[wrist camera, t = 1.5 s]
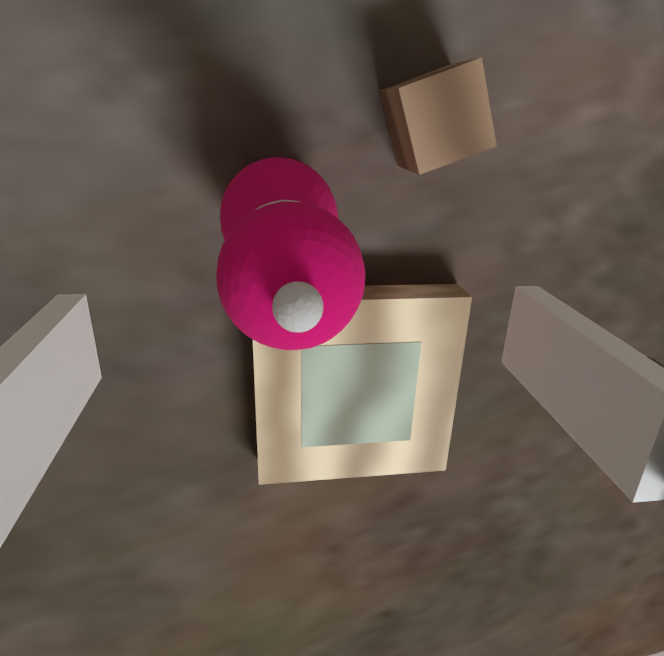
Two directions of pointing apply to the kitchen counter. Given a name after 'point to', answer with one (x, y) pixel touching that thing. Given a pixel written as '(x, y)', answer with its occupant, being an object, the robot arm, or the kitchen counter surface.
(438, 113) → the block
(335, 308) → the pepper mill
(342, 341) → the base plate
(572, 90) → the kitchen counter surface
